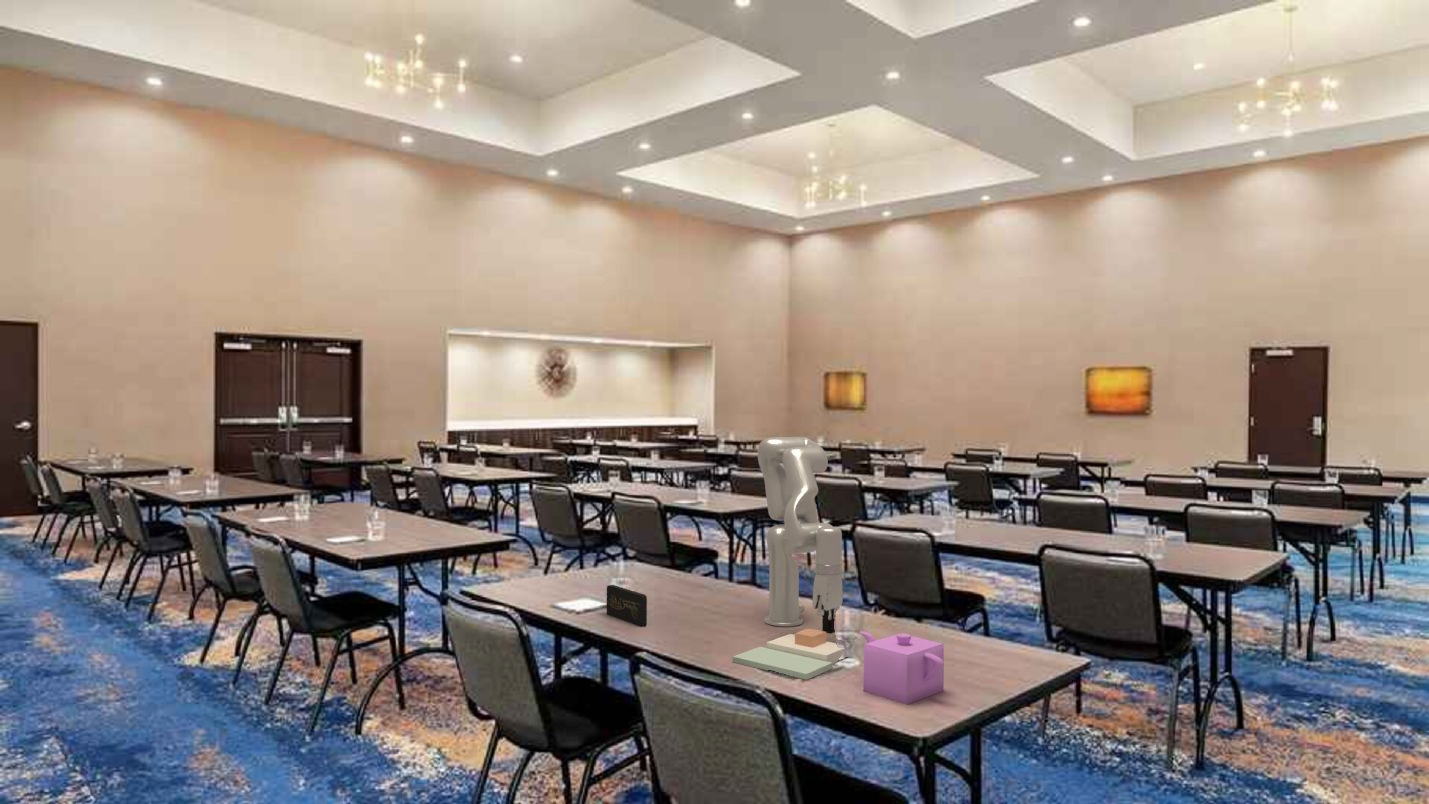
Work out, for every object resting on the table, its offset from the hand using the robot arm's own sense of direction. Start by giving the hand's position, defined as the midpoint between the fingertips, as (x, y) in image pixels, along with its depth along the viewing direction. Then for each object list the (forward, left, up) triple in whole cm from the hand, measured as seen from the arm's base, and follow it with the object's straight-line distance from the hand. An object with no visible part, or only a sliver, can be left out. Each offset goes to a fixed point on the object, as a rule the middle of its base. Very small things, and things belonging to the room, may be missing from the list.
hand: (828, 632), depth 254 cm
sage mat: (+24, 0, -4) cm, 24 cm away
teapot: (+21, +34, -4) cm, 40 cm away
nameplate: (+16, -67, -4) cm, 69 cm away
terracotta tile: (+9, 0, -1) cm, 10 cm away
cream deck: (+11, 0, -4) cm, 12 cm away
